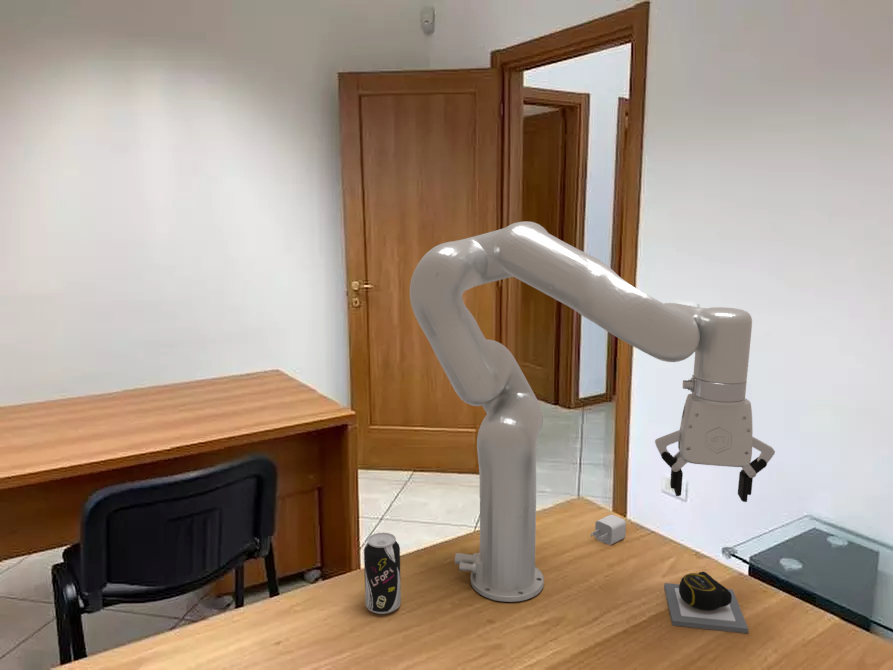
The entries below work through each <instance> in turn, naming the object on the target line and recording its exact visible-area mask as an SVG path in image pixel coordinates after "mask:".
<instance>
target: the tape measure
mask: <svg viewBox="0 0 893 670" xmlns="http://www.w3.org/2000/svg"><path fill="white" fill-rule="evenodd" d="M679 584H680V585H679V593H680V596H681V598H682V600H683V601H684V602H686V603H687V604H688V605H690V606H692V607H694V608H697V609H700V610H708V611H710V610H715V609H718V608H720V607H724V606H727V605H729V604H730V603H731V599H732V595H731V593H730V592H729V591H728V590H727V589H728V588H726V587H725V586H724V585H722V584H721V583H719V581H717V580H716V579H715V578H713V577H712V576H711V575H709V573H707V572H705V571H700V572H698V573H697V572H696V573H695V572H691V573H690V572H689V573H687V574H685V575H684V576H683V577H681V579H680V582H679Z"/></svg>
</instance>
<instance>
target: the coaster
mask: <svg viewBox="0 0 893 670" xmlns="http://www.w3.org/2000/svg"><path fill="white" fill-rule="evenodd" d="M663 584H664V586H663V588H664V594H665V598H666V603H667V608H668V610H669V611H668V612H669V616H670V620H671V625H672V626H673V627H684V628H692V629H702V630H713V631H721V632H730V633H737V634H738V633H741V634H749V627H748V624H747V622H746V620H745V617H744V614H743V611H742V609H741V606H740V604H739V601H738V599H737V596H736V594H735V592H734V589H733V588H726V589H727V590H728V591H729V592H730V593H731V595H732V599H731V603H730V604H729V605H727V606H724V607H720V608H718V609H715V610H710V611H708V610H700V609H697V608H694V607H692V606H690V605H688V604H687V603H686V602H684V601H683V600H682V598H681V596H680V593H679V585H680V583H672V582H671V583H669V582H664V583H663Z"/></svg>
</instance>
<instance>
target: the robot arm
mask: <svg viewBox="0 0 893 670" xmlns="http://www.w3.org/2000/svg"><path fill="white" fill-rule="evenodd" d="M512 277H513V278H514V279H517V280H519V281H521V282H522V283H524V284H526V285H528V286H531V287H532V288H534V289H536V290H537V291H540V292H541V293H543V294H544V295H547V296H549V297H551V298H553V300H556V301H557V302H560V303H562V304H563V305H565V306H567V307H569V308H570V309H572V310H573V311H576V312H577V313H579V315H581V316H582V317H584V318H586V319H587V320H589V321H591V322H592V323H594V324H595V325H597V326H598V327H600V328H602V329H603V330H605V331H606V332H608V333H610V334H611V335H613V336H615V337H616V338H618V339H620V340H622V341H623V342H625V343H626V344H628V345H630V346H632V347H634V348H635V349H638V350H639V351H641V352H643V353H644V354H647V355H648V356H650V357H653V358H654V359H656V360H659V361H662V362H667V363H677V362H678V363H679V362H681V361H685V360H687V359H688V358H689V357H691V356H692V355H693V354H694V364H693V374H692V376H691V377H690V379H688V380H685V379H684V380H682V389H683V390H688V391H690V392H691V393H689V394H687V396H686V399H685V403H684V406H683V410H682V415H681V419H680V426H679V429H678V430H676V431H673V432H671V433H669V434H666V435H662V436H660V437H658V438H656V439H655V440H654V443H655V446H656V449H657V451H658V452H659V455H660V456H661V459H662V460H663V461H664V462H665V463H666V464H667V466H669V468H670V482H669V486H670V489H672V490H673V491H674V493H675V496H676V497H680V496H682V486H683V477H684V476H683V473H684V472H683V470H682V468H683V467H684V466H685V465H687V464H694V465H702V466H703V465H704V466H715V467H717V466H718V467H730V468H741V470H740V471H739V476H738V487H737V495H738V497H739V499H740V502H743V503H747V502H748V496H751V495H752V491H753V489H752V488H753V481H754V480H753V479H754V478H755V477H756V476H757V474H758V473H759V472H761V471H762V470H763V469H765V468H766V467H767V465H768V463H769V462H770V460H772V458H773V457H774V455H775V453H776V451H775V450H774V448H773V447H772V446H771V445H768V444H767V443H766V442H763V441H761V440H760V439H758V438H756V437H754V436H753V411H752V410H753V409H752V403H751V401H750V400H749V399H748V398H746V393H747V380H748V371H749V361H750V351H751V338H752V329H753V318H752V315H751V314H750V313H749V312H748V311H746V310H744V309H740V308H735V307H721V306H720V307H719V306H718V307H716V306H715V307H709V308H707V307H700V306H699V307H698V306H693V305H686V304H681V303H680V304H679V303H676V302H675V303H673V302H666V303H663V302H662V301H660V300H658V299H655V298H654V297H652V296H651V295H648V294H646V293H645V292H643V291H642V290H639V289H638V288H636V287H634V286H633V285H632V284H630V283H629V282H627V281H626V280H624V278H622V277H620V276H619V274H617V273H616V272H615V271H614V270H613V269H612V268H611V267H610V266H609V265H607V264H606V263H604V262H603V261H602V260H600V259H598V258H596V257H595V256H592V255H591V254H588V253H587V252H584V251H583V250H580V249H579V248H577V247H575V246H573V245H571V244H569V243H567V242H565V241H563V240H561V239H559V238H558V237H556V236H555V235H552V234H550V233H549V232H548V230H546V228H545V227H543V226H542V225H541V224H539V223H536V222H534V221H518V222H514V223H512V224H509V225H508V226H505V227H504V228H500V229H497V230H492V231H490V232H486V233H482V234H478V235H474V236H471V237H467V238H463V239H459V240H454V241H453V240H451V241H447V242H443V243H440V244H438V245H435V246H434V247H432V248H431V249H430V250H428V251H427V252H426V253H425V254H424V255H423V256H422V258H421V259H420V261H419V262H418V263H417V265H416V267H415V268H414V270H413V273H412V275H411V279H410V284H409V300H410V306H411V308H412V313H413V315H414V316H415V320H416V321H417V323H418V325H419V327H420V328H421V330H422V332H423V333H424V335H425V337H426V339H427V341H428V343H429V344H430V347H431V348H432V350H433V353H434V354H435V356H436V358H437V360H438V362H439V364H440V366H441V368H442V369H443V371H444V373H445V375H446V377H447V378H448V379H447V380H449V382H450V384H451V386H452V388H453V390H454V392H455V393H456V395H457V396H458V398H460V400H461V401H462V402H464V403H465V404H467V405H470V406H473V407H481V406H482V408H483V409H484V412H485V413H486V415H485V416H484V418H483V420H482V422H481V424H480V426H479V429H478V432H477V439H476V449H477V459H478V460H477V462H478V472H479V473H478V474H479V551H478V553H477V552H474V553H473V554H467V553H460V552H456V553H455V556H454V564H455V565H459V567H458V569H459V571H460V572H461V571H462V572H471V573H470V584H471V586H472V588H473V590H475V592H477V593H478V594H479V595H481V596H483V597H485V598H487V599H489V600H491V601H492V600H493V601H495V602H497V601H498V602H505V603H516V602H523V601H526V600H529V599H532V598H534V597H536V596H537V595H538V594H539V593H541V591H542V590H543V588H544V584H545V582H544V579H545V578H544V575H543V572H542V571H541V570H540V568H538V566H536V535H537V533H536V530H537V528H536V526H537V523H536V522H537V446H538V442H539V438H540V434H541V432H542V429H543V425H544V413H543V412H544V411H543V409H542V407H541V405H540V403H539V400H538V398H537V396H536V394H535V393H534V391H533V389H532V387H531V386H530V384H529V382H528V380H527V378H526V376H525V374H524V373H523V371H522V369H521V367H520V365H519V363H518V362H517V360H516V358H515V357H514V355H513V353H512V352H511V351H510V350H509V348H507V347H506V346H505V345H504V344H502V343H500V342H498V341H496V340H494V339H486V337H485V335H484V334H483V332H482V330H481V328H480V326H479V324H478V322H477V320H476V319H475V317H474V315H473V314H472V312H470V310H469V309H468V307H467V306H466V305H465V302H464V299H463V295H464V293H465V292H466V291H469V290H470V289H472V288H475V287H479V286H482V285H485V284H489V283H494V282H497V281H501V280H505V279H509V278H512ZM675 443H678V445H677V448H678V452H677V453H675V454H674V455H672V454H671V453H670V452H669V450H668V448H667V447H668V446H670V445H672V444H675ZM753 449H756V450H758V451H759V452H760V454H759V456H757V457H755V459H754V460H752V457H753V456H752V455H753Z"/></svg>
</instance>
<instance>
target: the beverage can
mask: <svg viewBox="0 0 893 670" xmlns="http://www.w3.org/2000/svg"><path fill="white" fill-rule="evenodd" d="M363 561H364V562H363V566H364V592H365V594H364V595H365V596H364V597H365V600H364V602H365V606H366V608H367V610H368V611H370V612H372V613H374V614H376V615H377V614H378V615H387V614H389V613H392V612H394V611H397V609H398V608H400V606H401V603H402V593H401V587H402V586H401V585H402V583H401V548H400V544H399V542H397V538H396V536H395V535H394V534H392V533H390V532H389V533H388V532H377V533H372V534H371V535H370V536H368V537H367V542H366V544H365V546H364V547H363Z"/></svg>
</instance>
